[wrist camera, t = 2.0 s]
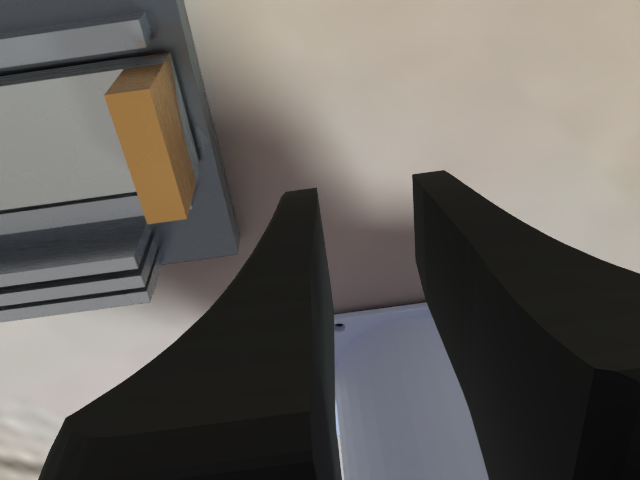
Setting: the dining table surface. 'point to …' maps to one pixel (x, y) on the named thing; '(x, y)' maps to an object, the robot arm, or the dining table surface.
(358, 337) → the robot arm
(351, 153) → the dining table surface
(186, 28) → the heatsink plate
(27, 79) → the grey orange block
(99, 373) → the dining table surface
